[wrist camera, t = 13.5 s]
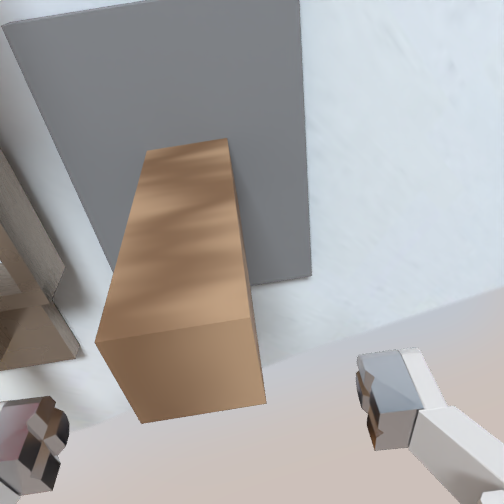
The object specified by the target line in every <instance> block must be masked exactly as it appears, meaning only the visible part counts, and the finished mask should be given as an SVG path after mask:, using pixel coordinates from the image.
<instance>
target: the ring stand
mask: <svg viewBox="0 0 504 504" xmlns="http://www.w3.org/2000/svg"><path fill="white" fill-rule="evenodd" d="M0 260H1V262H2V263H0V371H2V370H8V369H15V368H21V367H27V366H33V365H39V364H46V363H52V362H58V361H64V360H70V359H76V355H77V352H78V349H79V346H80V345H79V343H78V342H77V340H76V338H75V337H74V335H73V334H72V332H71V330H70V329H69V327H68V325H67V324H66V322H65V321H64V319H63V317H62V316H61V314H60V312H59V311H58V309H57V308H56V306H55V304H54V303H53V301H52V298H53V296H54V293H55V291H56V289H57V286H58V284H59V282H60V279H61V277H62V275H63V272H64V270H65V268H66V267H65V265H64V263H63V262H62V260H61V258H60V256H59V254H58V253H57V251H56V249H55V247H54V245H53V243H52V242H51V240H50V238H49V236H48V234H47V232H46V231H45V229H44V227H43V225H42V223H41V221H40V220H39V218H38V216H37V214H36V212H35V210H34V209H33V207H32V205H31V203H30V201H29V199H28V198H27V196H26V194H25V192H24V190H23V188H22V187H21V185H20V183H19V181H18V179H17V177H16V176H15V174H14V172H13V170H12V168H11V166H10V165H9V163H8V161H7V159H6V157H5V156H4V154H3V152H2V150H1V148H0Z"/></svg>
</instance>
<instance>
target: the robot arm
mask: <svg viewBox="0 0 504 504" xmlns="http://www.w3.org/2000/svg"><path fill="white" fill-rule="evenodd" d="M357 365H358V368H359V371H358V372H357V373H356V385H357V392H358V397H359V401H360V404H361V408H362V409H363V410H364V411H365V412H366V413H368V417H367V427H368V431H369V434H370V437H371V440H372V444H373V447H374V450H375V451H376V450H387V449H398V448H408V447H409V450H410V451H411V452H412V453H413V455H414V456H415V457H416V458H417V459H418V460H419V461H420V462H421V463H422V464H423V465H424V466H425V467H426V468H427V469H428V470H429V471H430V472H431V473H432V474H433V475H434V476H435V477H436V479H437V480H438V481H439V482H440V483H441V484H442V485H443V486H444V487H445V488H446V489H447V490H448V491H449V492H450V493H451V494H452V495H453V496H454V497H455V498H456V499H457V500H458V502H460V504H504V444H503V443H502V442H501V441H500V440H498V439H497V438H496V437H494V436H493V435H492V434H491V433H489V432H488V431H487V430H485V429H484V428H482V427H481V426H480V425H479V424H477V423H476V422H475V421H474V420H472V419H471V418H470V417H468V416H467V415H466V414H464V413H463V412H462V411H460V410H459V409H458V408H457V407H455V406H448V405H447V403H446V401H445V399H444V397H443V395H442V393H441V391H440V389H439V387H438V385H437V383H436V381H435V379H434V377H433V375H432V373H431V371H430V369H429V366H428V364H427V362H426V360H425V358H424V357H423V354H422V352H421V351H420V350H419V349H418V348H416V347H413V348H406V349H400V350H388V351H382V352H375V353H369V354H362V355H358V357H357ZM55 403H56V402H55V401H54V400H53V399H52V398H51V397H50V396H45V397H37V398H29V399H20V400H10V401H3V402H0V504H16V503H17V502H18V501H19V499H20V496H21V495H28V494H34V493H41V492H47V491H53V488H54V484H55V481H56V478H57V474H58V471H59V468H60V464H61V463H60V461H59V458H58V455H59V453H60V452H61V451H62V450H63V449H64V448H65V446H66V444H67V441H68V437H69V421H68V418H67V416H66V414H65V413H64V412H63V411H61V410H59V409H56V408H54V406H55Z"/></svg>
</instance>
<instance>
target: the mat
mask: <svg viewBox="0 0 504 504" xmlns="http://www.w3.org/2000/svg"><path fill="white" fill-rule="evenodd" d="M1 27H2V29H3V31H4V33H5V36H6V38H7V40H8V42H9V44H10V47H11V49H12V51H13V53H14V55H15V58H16V60H17V62H18V64H19V66H20V69H21V71H22V73H23V75H24V77H25V80H26V82H27V84H28V86H29V88H30V91H31V93H32V95H33V97H34V99H35V102H36V104H37V106H38V108H39V110H40V113H41V115H42V117H43V119H44V121H45V124H46V126H47V128H48V130H49V132H50V135H51V137H52V139H53V141H54V143H55V146H56V148H57V150H58V152H59V154H60V157H61V159H62V161H63V163H64V166H65V168H66V170H67V172H68V174H69V177H70V179H71V181H72V183H73V185H74V188H75V190H76V192H77V194H78V196H79V199H80V201H81V203H82V205H83V207H84V210H85V212H86V214H87V216H88V218H89V221H90V223H91V225H92V227H93V229H94V232H95V234H96V236H97V238H98V240H99V243H100V245H101V247H102V249H103V251H104V254H105V256H106V258H107V260H108V262H109V265H110V267H111V269H112V271H113V273H114V269H115V266H116V262H117V258H118V255H119V251H120V247H121V244H122V240H123V236H124V233H125V229H126V225H127V222H128V218H129V214H130V211H131V207H132V203H133V200H134V196H135V192H136V189H137V185H138V181H139V178H140V174H141V170H142V167H143V163H144V159H145V156H146V152H147V151H149V150H155V149H161V148H167V147H173V146H180V145H186V144H192V143H198V142H204V141H211V140H217V139H223V138H227V140H228V146H229V151H230V157H231V163H232V169H233V175H234V181H235V186H236V192H237V198H238V204H239V210H240V218H241V225H242V232H243V239H244V246H245V253H246V260H247V268H248V275H249V282H250V286H253V285H259V284H265V283H271V282H278V281H284V280H290V279H296V278H302V277H309V276H312V269H311V247H310V225H309V203H308V181H307V159H306V137H305V115H304V93H303V70H302V48H301V26H300V4H299V0H145V1H139V2H133V3H127V4H120V5H114V6H108V7H102V8H96V9H89V10H83V11H77V12H71V13H65V14H58V15H52V16H46V17H40V18H34V19H27V20H21V21H15V22H10V23H7V24H5V25H2V26H1Z"/></svg>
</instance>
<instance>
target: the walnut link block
mask: <svg viewBox="0 0 504 504" xmlns="http://www.w3.org/2000/svg"><path fill="white" fill-rule="evenodd" d="M95 344H96V346H97V348H98V349H99V351H100V353H101V355H102V356H103V358H104V360H105V362H106V363H107V365H108V367H109V369H110V370H111V372H112V374H113V376H114V377H115V379H116V381H117V382H118V384H119V386H120V388H121V389H122V391H123V393H124V395H125V396H126V398H127V400H128V402H129V403H130V405H131V407H132V409H133V410H134V412H135V414H136V415H137V417H138V419H139V420H140V422H141V423H142V424H143V423H149V422H155V421H161V420H168V419H174V418H180V417H186V416H193V415H198V414H205V413H211V412H217V411H224V410H230V409H236V408H242V407H248V406H254V405H260V404H266V396H265V390H264V382H263V375H262V368H261V360H260V353H259V346H258V339H257V332H256V325H255V318H254V310H253V303H252V296H251V289H250V282H249V275H248V268H247V260H246V253H245V246H244V239H243V232H242V225H241V218H240V210H239V204H238V198H237V192H236V186H235V181H234V175H233V169H232V163H231V157H230V151H229V146H228V140H227V138H223V139H217V140H211V141H204V142H198V143H192V144H186V145H180V146H173V147H167V148H161V149H155V150H149V151H147V152H146V156H145V159H144V163H143V167H142V170H141V174H140V178H139V181H138V185H137V189H136V192H135V196H134V200H133V203H132V207H131V211H130V214H129V218H128V222H127V225H126V229H125V233H124V236H123V240H122V244H121V247H120V251H119V255H118V258H117V262H116V266H115V269H114V273H113V277H112V280H111V284H110V288H109V291H108V295H107V299H106V303H105V306H104V310H103V314H102V317H101V321H100V325H99V328H98V332H97V336H96V339H95Z"/></svg>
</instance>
